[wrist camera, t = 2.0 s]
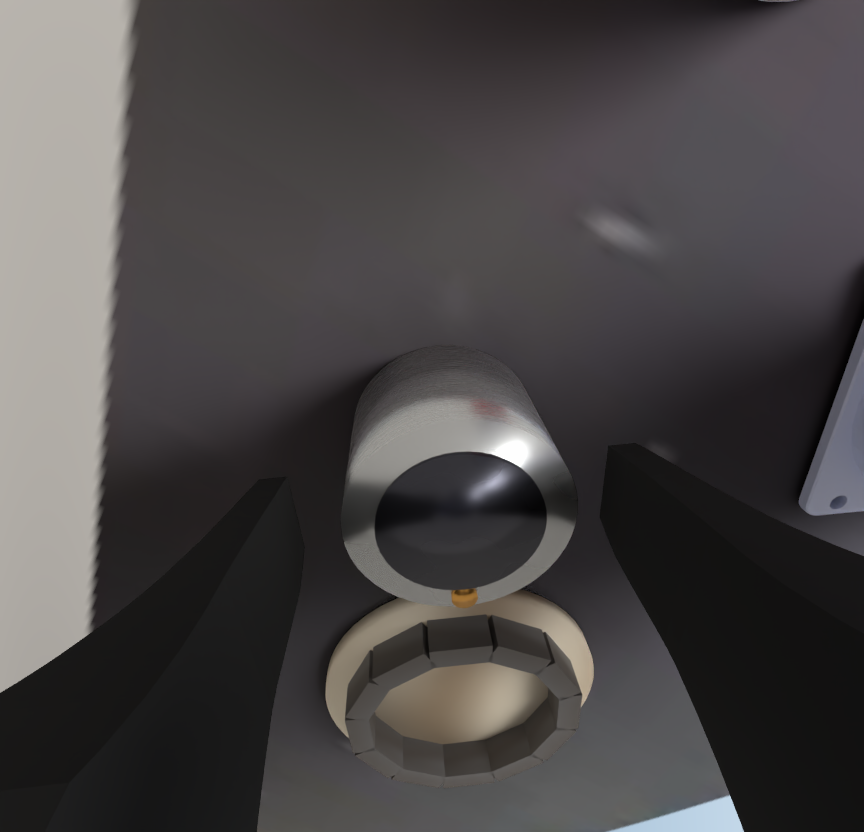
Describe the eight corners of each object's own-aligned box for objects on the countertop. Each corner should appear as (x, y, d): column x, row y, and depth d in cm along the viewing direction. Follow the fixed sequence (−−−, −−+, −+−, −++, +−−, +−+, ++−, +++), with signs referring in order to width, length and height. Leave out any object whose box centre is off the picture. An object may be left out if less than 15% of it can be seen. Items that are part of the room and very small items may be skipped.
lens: (534, 336, 13) (590, 411, 9) (529, 491, 15) (572, 600, 12) (340, 352, 13) (320, 436, 9) (366, 507, 15) (357, 621, 12)
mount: (600, 569, 17) (621, 613, 15) (578, 737, 22) (592, 783, 20) (304, 599, 17) (295, 646, 15) (348, 762, 22) (344, 811, 20)
